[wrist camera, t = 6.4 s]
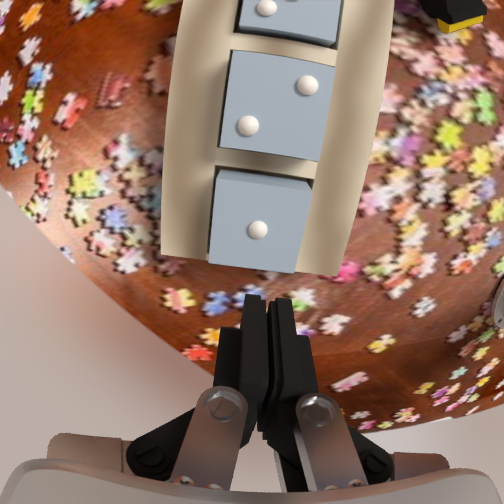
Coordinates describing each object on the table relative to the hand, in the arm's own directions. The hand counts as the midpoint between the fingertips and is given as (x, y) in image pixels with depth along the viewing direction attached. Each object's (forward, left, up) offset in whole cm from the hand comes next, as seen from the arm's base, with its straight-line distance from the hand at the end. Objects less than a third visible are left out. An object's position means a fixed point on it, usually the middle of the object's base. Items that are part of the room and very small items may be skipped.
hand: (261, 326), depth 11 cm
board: (0, -8, -15) cm, 17 cm away
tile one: (0, 0, -12) cm, 12 cm away
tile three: (0, -16, -13) cm, 21 cm away
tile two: (0, -8, -12) cm, 14 cm away
